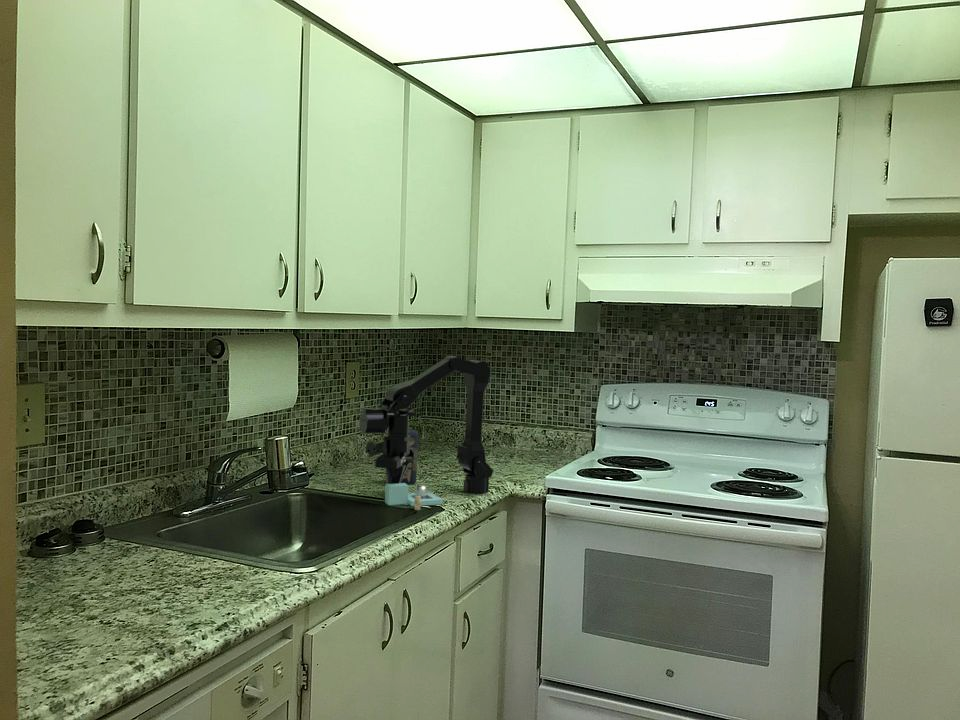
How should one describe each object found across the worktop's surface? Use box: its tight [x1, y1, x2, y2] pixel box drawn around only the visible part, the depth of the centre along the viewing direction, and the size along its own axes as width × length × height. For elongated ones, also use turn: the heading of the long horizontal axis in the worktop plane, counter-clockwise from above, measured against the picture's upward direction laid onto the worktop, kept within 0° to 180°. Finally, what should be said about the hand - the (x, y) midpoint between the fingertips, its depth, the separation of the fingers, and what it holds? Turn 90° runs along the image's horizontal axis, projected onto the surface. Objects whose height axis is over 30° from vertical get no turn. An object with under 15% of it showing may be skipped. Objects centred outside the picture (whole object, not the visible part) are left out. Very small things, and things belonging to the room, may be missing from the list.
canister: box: [385, 428, 419, 486], centre depth 235 cm, size 10×10×18 cm
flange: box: [384, 483, 444, 507], centre depth 209 cm, size 14×9×5 cm, turn 117°
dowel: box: [414, 496, 422, 511], centre depth 202 cm, size 2×2×4 cm
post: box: [415, 484, 428, 499], centre depth 210 cm, size 3×3×4 cm
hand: (395, 488), depth 212 cm, fingers closed
